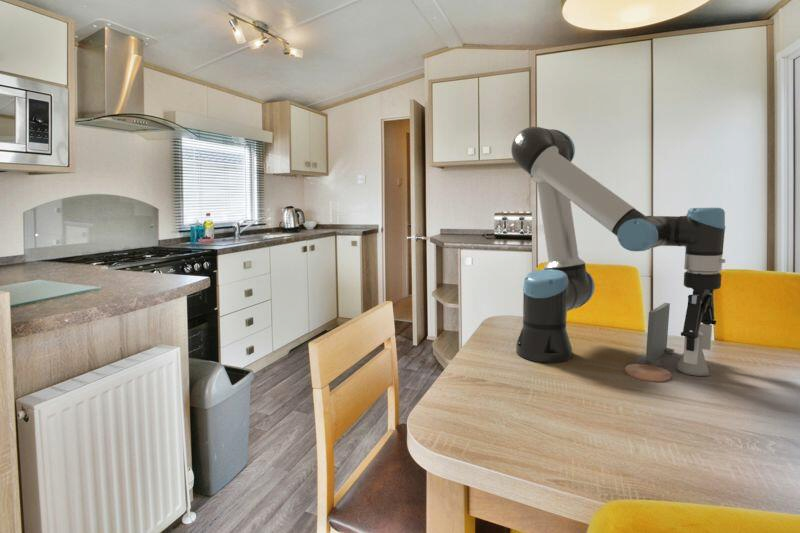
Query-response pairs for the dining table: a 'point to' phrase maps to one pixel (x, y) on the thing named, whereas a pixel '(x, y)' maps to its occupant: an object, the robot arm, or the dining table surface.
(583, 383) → the dining table surface
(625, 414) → the dining table surface
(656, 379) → the coaster
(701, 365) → the flask
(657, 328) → the screen
